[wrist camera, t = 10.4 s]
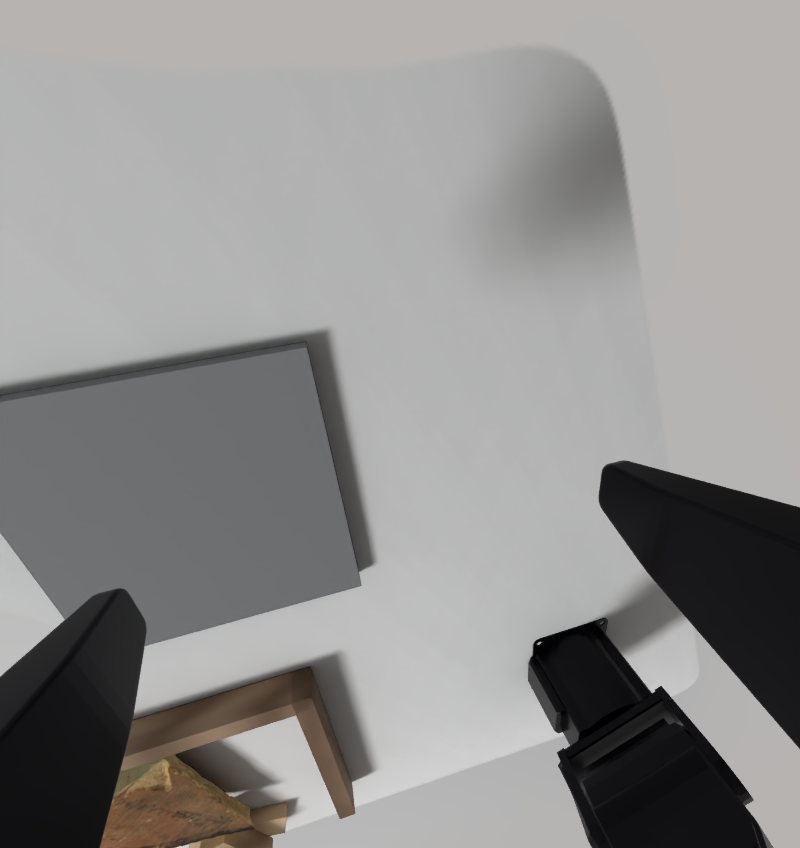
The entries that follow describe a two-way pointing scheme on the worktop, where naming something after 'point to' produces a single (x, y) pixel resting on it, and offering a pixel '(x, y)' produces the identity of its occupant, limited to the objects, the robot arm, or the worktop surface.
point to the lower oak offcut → (265, 820)
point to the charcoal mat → (178, 490)
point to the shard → (170, 808)
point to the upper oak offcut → (240, 840)
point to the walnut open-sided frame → (247, 727)
